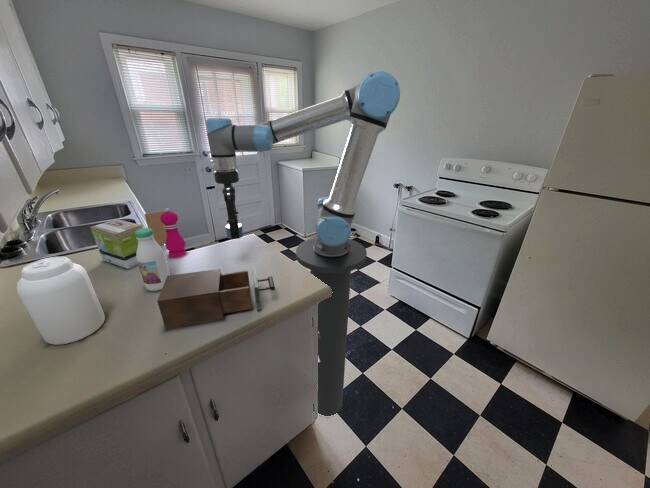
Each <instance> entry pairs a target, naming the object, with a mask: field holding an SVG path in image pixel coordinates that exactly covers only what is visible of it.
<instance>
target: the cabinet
mask: <svg viewBox="0 0 650 488" xmlns="http://www.w3.org/2000/svg"><path fill="white" fill-rule="evenodd" d="M221 274H222V270H221V268H215V269H209V270H208V269H207V270H201V271H194V272H186V273H185V272H184V273H177V274H170V275H169V276H167V278H166V281H165V283H164V286H163V288H162V290H160V293H159V296H158V297H157V300H156V301H157V305H158V309H159V312H160V315H161V318H162V322H163V325H164V328H165V331H169V330H175V329H181V328H186V327H192V326H197V325H202V324H208V323H214V322H220V321H225V319H224V318H225V313H224V314H223V311H222V306H221V300H220V295H219V287H220V275H221Z"/></svg>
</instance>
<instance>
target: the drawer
mask: <svg viewBox="0 0 650 488" xmlns="http://www.w3.org/2000/svg"><path fill="white" fill-rule="evenodd" d="M251 273H252V274H251V275H252V281H253V282H252V283H253V290H254V291H253V292H254V299H255V306H256V311H260V310H262V306H261V297H260V296H261V295H260V292H261V291H268V290H270V291H272V292H273V291H275V290H276V286H275V283H274V279H273V276H272V275H269V276H268V277H265V278H259V279H258V275H257V273H258V272H257V268H256V267H252V268H251ZM267 281H268V286H264V287H260V286H259V283H260V282H267ZM219 295H220V300H221V306H222V311H223V314H224V315H225V314H230V313H235V312H241V311H246V310H252V309H253V303H252V295H251V286H250V279H249V270H241V271H234V272H226V273H221V275H220V287H219Z"/></svg>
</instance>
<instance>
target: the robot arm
mask: <svg viewBox="0 0 650 488" xmlns="http://www.w3.org/2000/svg"><path fill="white" fill-rule="evenodd" d="M400 98H401V89H400V85H399V81H398V80H397V78H396V77H395V76H394V75H392V74H391V73H390V72H387V71H385V70H376V71H372V72H370V73H368V74H366V75H365V76H364V77H363V78H362V79H361V81H360V82H359V83H358V84H356V85H354V86H352V87H351V88H348V89H345V90H343V91H342V92H341V94H340V95H338V96H336V97H333V98H330V99H327V100H325V101H322V102H319V103H316V104H313V105H310V106H307V107H305V108H302V109H299V110H296V111H294V112H291V113H287V114H285V115H282V116H279V117H276V118H273V119H270V120H267V121H265V122H262V123H259V124H241V125H239V124H238V125H237V124H233V123H232V119H231V118H229V117H208V118H207V119H206V120H205V127H206V136H207V140H208V145H209V150H210V157H211V159H210V160H209V163H210V164H212V168H213V170H215V171H213V177H214V181H215V183H216V184H217V185H218V184H219V185H223V186H222V188H221V190H222V191H221V193H222V194H223V200H224V202H225V207H226V213H227V220H226V223H227V224H229V226H230V232H231V238H232V239H231V240H239V239H241V238H240V237H239V230H238V223H239V220H238V215H239V214H240V213H239V211H237V208H236V207H237V206H236V187H235V186H234V185H233V184H236V183H239V181H240V177H239V171H238V170H237V169H238V167H239V166H238V160H237V154H236V152H268V151H271V150H272V149H273V147H274V146H273V145H275V144H279V143H280V142H283V141H286V140H289V139H292V138H295V137H298V136H302V135H305V134H307V133H310V132H313V131H317V130H320V129H323V128H325V127H329V126H332V125H334V124H338V123H340V122H344V121H349V122H350V123H351V126H350V130H349V133H348V136H347V140H346V143H345V146H344V150H343V152H342V156H341V159H340V162H339V165H338V168H337V172H336V175H335V178H334V182H333V185H332V188H331V191H330V194H329V196H323V197H319V198H318V200H317V205H316V206H317V218H316V225H315V233H316V237H315V238H316V240H315V243H314V246H313V251H314V253H315V254H316V255H318V256H320V257H324V258H340V257H344V256H346V255H347V254H348V253H349V246H350V244H348V239H350V236H351V232H352V227H351V226H352V223H353V220H354V217H355V215H356V209H355V208H354V204H355V202H356V198H357V196H358V193H359V190H360V187H361V185H362V181H363V179H364V176H365V173H366V170H367V167H368V165H369V161H370V159H371V157H372V153H373V150H374V148H375V146H376V143H377V139H378V136H379V135H380V133H382V132H383V131H385V130H386V128H387V126H388V123H389V120H390V117H391V115H392V114H393V113H394V112H395V110H396V108H397V107H398V105H399V102H400Z"/></svg>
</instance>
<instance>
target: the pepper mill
mask: <svg viewBox="0 0 650 488" xmlns="http://www.w3.org/2000/svg"><path fill="white" fill-rule="evenodd" d="M164 211H165V212H164V213H162V214H161V216H160V220H161V222H162V223H163V224H164V225H163V226H164V228H165V229H166V232H167V237H166V242H165V244H164V245H165V249H166V250H167V251H168V256H169V257H170V258H173V259H175V258H176V259H177V258H181V257H184V256H185V255H186V254H187V250H186V248H185V247H186V241H185V239H184V237H183V236H182V235H181V234H180V231H179V228H178V227H179V223H178V220H179V217H178V214H177V213H176V212H175V211H172V210H171V209H170V208H169V207H165V208H164Z"/></svg>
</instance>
